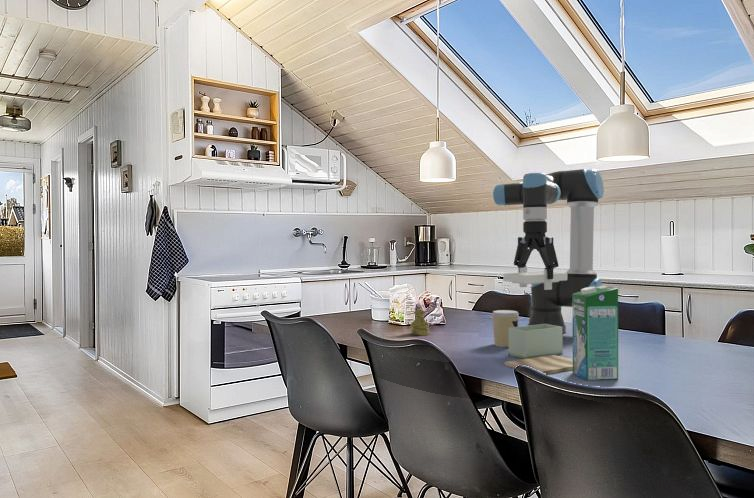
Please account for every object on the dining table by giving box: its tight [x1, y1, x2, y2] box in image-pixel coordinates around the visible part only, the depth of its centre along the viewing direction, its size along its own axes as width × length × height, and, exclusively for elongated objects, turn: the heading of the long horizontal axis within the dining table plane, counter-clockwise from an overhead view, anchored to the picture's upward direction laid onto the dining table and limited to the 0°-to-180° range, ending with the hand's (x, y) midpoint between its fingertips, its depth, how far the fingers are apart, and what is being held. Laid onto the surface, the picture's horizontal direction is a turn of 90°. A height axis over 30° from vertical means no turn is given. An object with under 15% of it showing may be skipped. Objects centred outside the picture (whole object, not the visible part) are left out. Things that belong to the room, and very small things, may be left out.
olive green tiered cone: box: [410, 308, 430, 336], centre depth 235 cm, size 7×7×10 cm
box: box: [508, 324, 564, 359], centre depth 192 cm, size 16×8×9 cm, turn 119°
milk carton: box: [571, 284, 619, 381], centre depth 162 cm, size 9×9×25 cm
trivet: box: [504, 355, 573, 375], centre depth 176 cm, size 20×15×1 cm
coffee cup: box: [491, 309, 520, 348], centre depth 209 cm, size 9×9×12 cm
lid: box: [502, 270, 567, 285], centre depth 192 cm, size 18×10×3 cm, turn 119°
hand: (535, 288), depth 192 cm, fingers closed on lid, 10 cm apart
